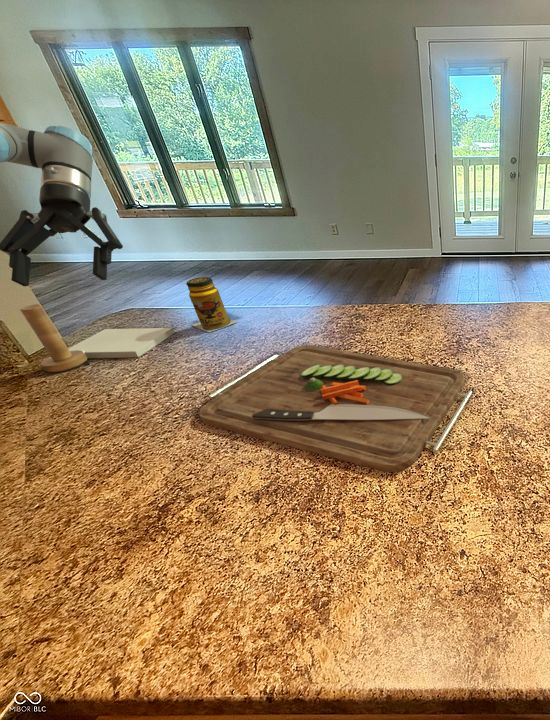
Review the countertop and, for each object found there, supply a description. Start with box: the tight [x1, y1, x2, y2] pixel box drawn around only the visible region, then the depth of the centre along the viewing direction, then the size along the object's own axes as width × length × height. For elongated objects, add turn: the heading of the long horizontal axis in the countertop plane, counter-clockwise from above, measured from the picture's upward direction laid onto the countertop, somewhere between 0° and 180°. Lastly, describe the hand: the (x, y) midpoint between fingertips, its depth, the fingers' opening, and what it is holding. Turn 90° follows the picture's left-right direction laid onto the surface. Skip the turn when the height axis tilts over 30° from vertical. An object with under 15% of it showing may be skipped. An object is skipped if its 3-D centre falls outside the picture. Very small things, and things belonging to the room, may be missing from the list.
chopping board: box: [198, 344, 473, 473], centre depth 69 cm, size 45×27×3 cm, turn 72°
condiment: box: [186, 276, 239, 333], centre depth 95 cm, size 7×8×12 cm
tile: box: [67, 327, 175, 359], centre depth 88 cm, size 16×12×2 cm
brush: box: [19, 304, 91, 374], centre depth 75 cm, size 6×6×14 cm
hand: (60, 280), depth 79 cm, fingers open, 13 cm apart
